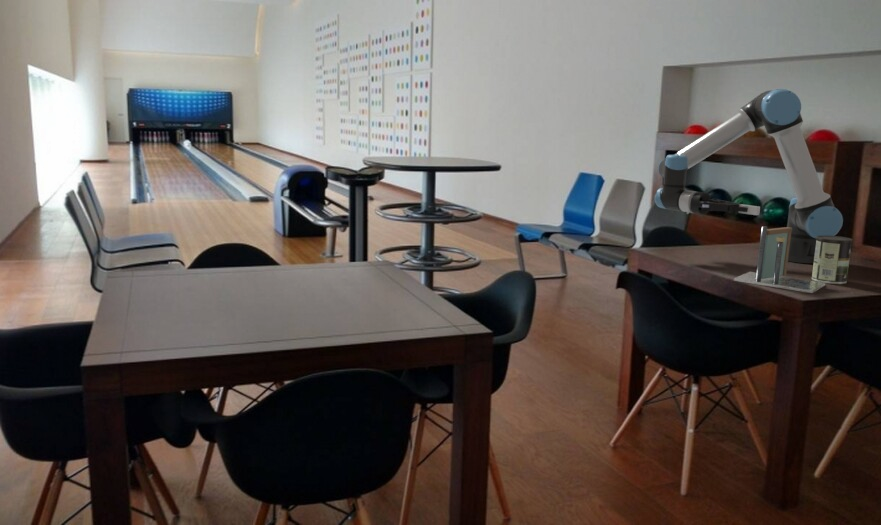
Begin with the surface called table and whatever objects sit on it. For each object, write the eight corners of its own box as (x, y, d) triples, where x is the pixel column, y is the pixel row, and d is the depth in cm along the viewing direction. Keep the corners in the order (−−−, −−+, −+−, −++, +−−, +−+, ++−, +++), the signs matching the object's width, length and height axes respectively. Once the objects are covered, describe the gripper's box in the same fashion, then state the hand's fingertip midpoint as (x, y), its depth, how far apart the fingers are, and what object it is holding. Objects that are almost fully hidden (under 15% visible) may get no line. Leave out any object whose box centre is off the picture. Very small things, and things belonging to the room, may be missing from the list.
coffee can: (840, 278, 243) (846, 236, 240) (851, 285, 233) (857, 241, 230) (807, 276, 245) (812, 234, 242) (816, 283, 235) (821, 239, 232)
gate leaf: (763, 279, 231) (769, 230, 228) (758, 278, 232) (763, 229, 229) (786, 275, 238) (792, 227, 235) (781, 274, 239) (786, 227, 236)
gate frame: (812, 293, 220) (820, 233, 217) (733, 280, 235) (740, 224, 231) (824, 285, 231) (832, 228, 228) (749, 273, 246) (755, 220, 242)
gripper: (706, 212, 260) (768, 221, 242) (682, 214, 253) (745, 223, 234) (708, 191, 259) (771, 198, 240) (685, 192, 252) (747, 200, 233)
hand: (758, 211), depth 237 cm, fingers closed
